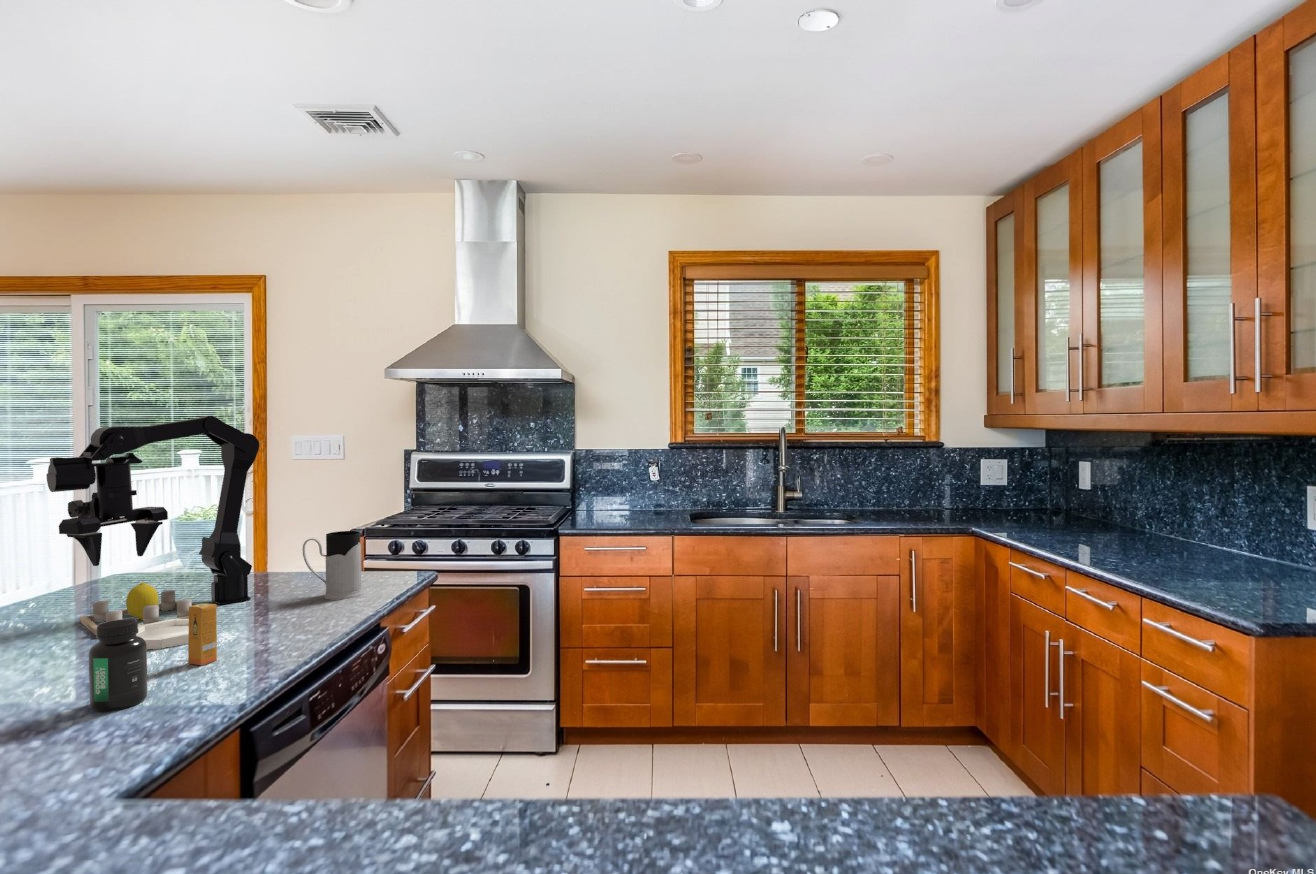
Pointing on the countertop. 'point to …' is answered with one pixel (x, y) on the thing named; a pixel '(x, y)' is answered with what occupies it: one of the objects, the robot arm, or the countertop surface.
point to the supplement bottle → (117, 667)
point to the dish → (165, 633)
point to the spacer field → (149, 612)
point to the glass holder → (341, 564)
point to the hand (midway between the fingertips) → (118, 560)
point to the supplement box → (202, 634)
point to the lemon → (141, 599)
